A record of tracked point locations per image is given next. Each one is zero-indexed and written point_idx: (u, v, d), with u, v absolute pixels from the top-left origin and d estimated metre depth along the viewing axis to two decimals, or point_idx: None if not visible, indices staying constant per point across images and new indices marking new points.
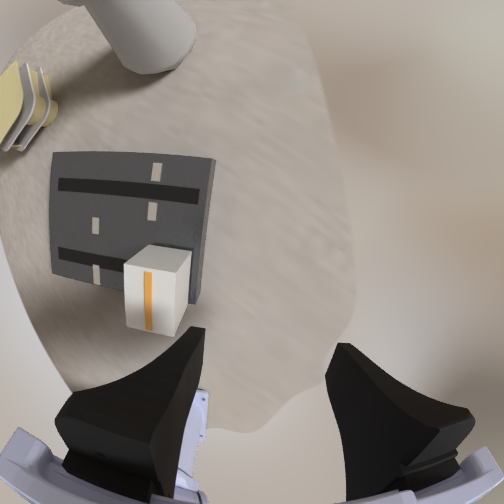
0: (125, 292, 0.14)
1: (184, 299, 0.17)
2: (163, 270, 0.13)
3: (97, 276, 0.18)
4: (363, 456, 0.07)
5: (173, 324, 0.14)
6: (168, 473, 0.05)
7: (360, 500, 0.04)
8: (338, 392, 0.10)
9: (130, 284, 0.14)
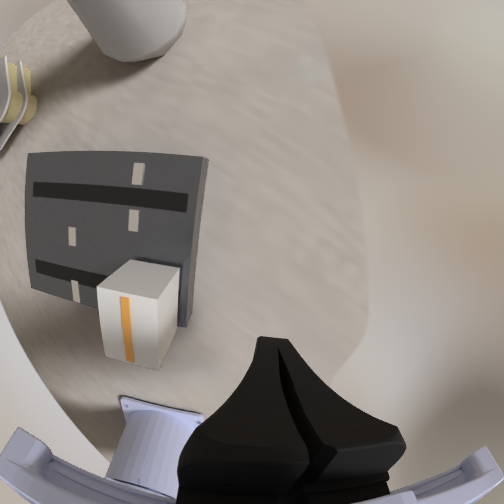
0: (100, 319, 0.11)
1: (172, 324, 0.14)
2: (142, 295, 0.11)
3: (76, 293, 0.15)
4: None
5: (158, 357, 0.12)
6: None
7: None
8: None
9: (105, 310, 0.11)
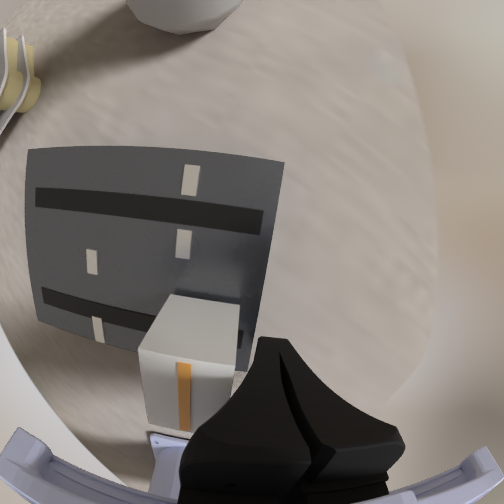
0: (144, 385, 0.08)
1: None
2: (211, 361, 0.07)
3: (99, 331, 0.12)
4: None
5: None
6: None
7: None
8: None
9: (151, 376, 0.08)
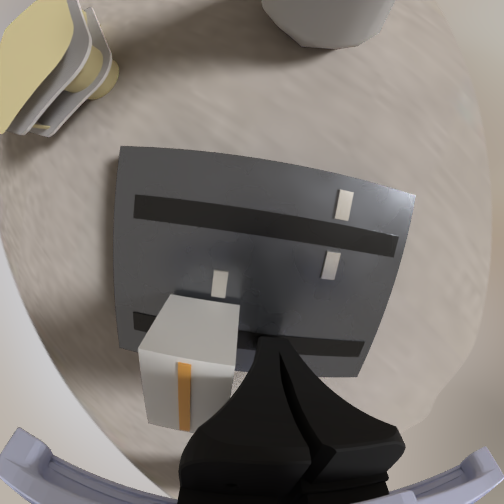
0: (144, 385, 0.08)
1: None
2: (211, 361, 0.07)
3: None
4: None
5: None
6: None
7: None
8: None
9: (151, 377, 0.08)
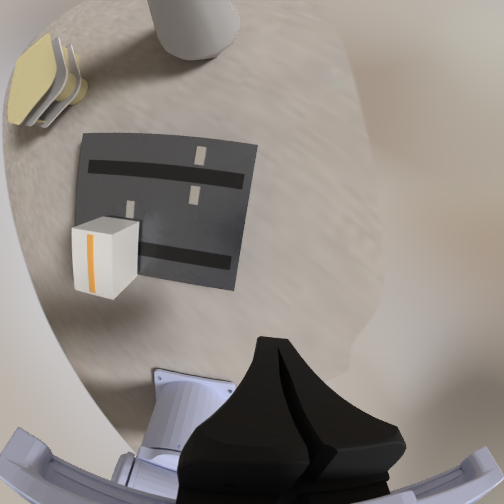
0: (73, 255, 0.14)
1: (130, 267, 0.17)
2: (102, 232, 0.13)
3: None
4: None
5: (112, 286, 0.14)
6: None
7: None
8: None
9: (76, 247, 0.14)
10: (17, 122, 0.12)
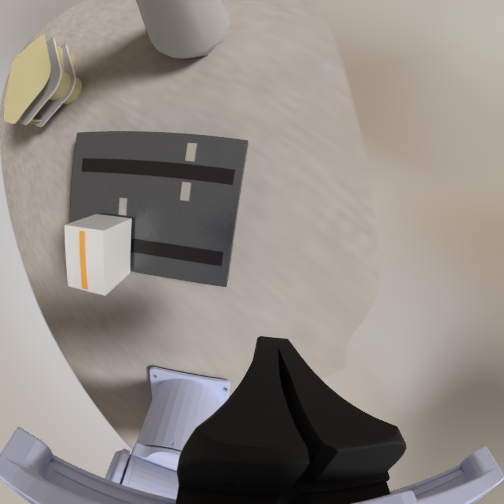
0: (66, 252, 0.14)
1: (123, 264, 0.17)
2: (94, 229, 0.13)
3: None
4: None
5: (104, 282, 0.14)
6: None
7: None
8: None
9: (69, 244, 0.13)
10: (13, 121, 0.12)
